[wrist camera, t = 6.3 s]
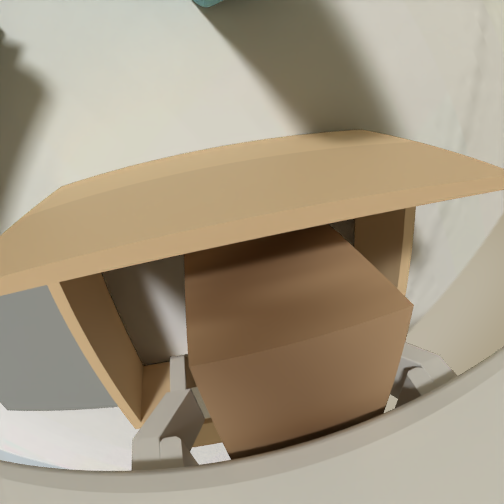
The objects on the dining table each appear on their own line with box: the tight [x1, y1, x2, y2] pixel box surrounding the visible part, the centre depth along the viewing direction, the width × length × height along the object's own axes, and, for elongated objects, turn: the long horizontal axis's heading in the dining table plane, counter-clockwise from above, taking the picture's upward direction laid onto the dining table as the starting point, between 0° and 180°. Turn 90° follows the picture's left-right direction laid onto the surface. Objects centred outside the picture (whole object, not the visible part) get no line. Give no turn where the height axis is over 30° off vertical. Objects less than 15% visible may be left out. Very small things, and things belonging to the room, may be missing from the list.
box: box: [184, 224, 414, 460], centre depth 10 cm, size 4×9×8 cm, turn 8°
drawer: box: [0, 130, 504, 447], centre depth 13 cm, size 15×15×10 cm
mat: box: [0, 285, 118, 411], centre depth 16 cm, size 12×12×1 cm
